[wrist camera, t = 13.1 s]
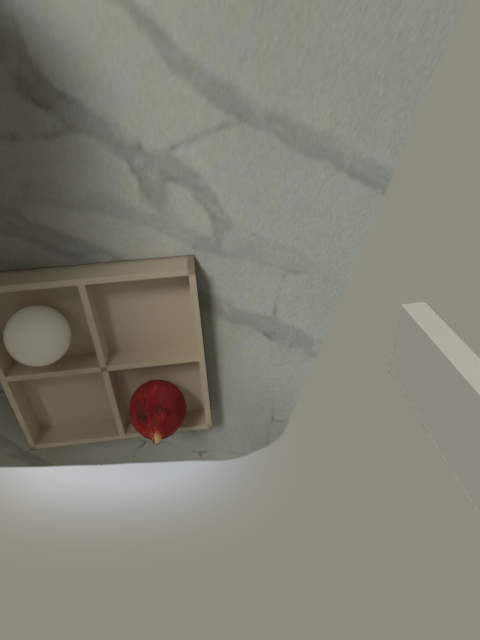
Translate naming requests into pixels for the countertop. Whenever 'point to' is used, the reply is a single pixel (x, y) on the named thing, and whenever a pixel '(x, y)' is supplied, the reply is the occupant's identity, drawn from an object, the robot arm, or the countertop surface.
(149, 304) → the wooden tray
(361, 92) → the countertop surface
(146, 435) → the onion
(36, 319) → the ceramic egg
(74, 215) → the countertop surface
